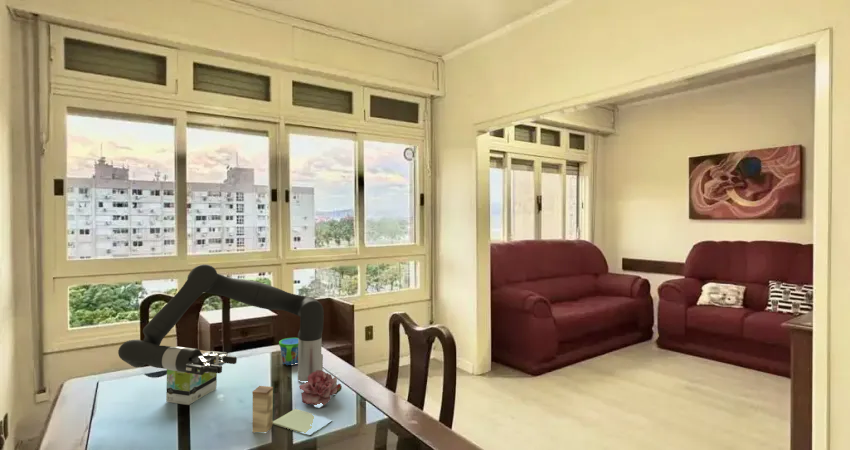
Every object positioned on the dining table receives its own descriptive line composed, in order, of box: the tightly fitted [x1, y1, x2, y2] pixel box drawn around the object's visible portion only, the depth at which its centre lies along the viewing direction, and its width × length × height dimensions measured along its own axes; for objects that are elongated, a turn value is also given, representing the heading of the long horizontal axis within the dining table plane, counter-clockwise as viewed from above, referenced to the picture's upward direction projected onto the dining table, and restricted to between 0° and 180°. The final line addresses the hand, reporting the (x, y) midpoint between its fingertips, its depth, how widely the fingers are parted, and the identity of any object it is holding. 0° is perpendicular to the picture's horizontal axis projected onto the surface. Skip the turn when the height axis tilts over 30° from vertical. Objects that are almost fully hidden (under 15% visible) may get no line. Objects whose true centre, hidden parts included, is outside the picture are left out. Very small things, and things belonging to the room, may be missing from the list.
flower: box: [298, 370, 343, 406], centre depth 168 cm, size 15×15×10 cm
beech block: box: [252, 385, 274, 433], centre depth 146 cm, size 5×5×13 cm
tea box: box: [165, 349, 218, 406], centre depth 169 cm, size 15×10×15 cm, turn 168°
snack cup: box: [278, 337, 298, 366], centre depth 204 cm, size 16×10×10 cm
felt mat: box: [272, 408, 314, 433], centre depth 151 cm, size 11×16×1 cm
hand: (229, 365), depth 147 cm, fingers open, 8 cm apart
